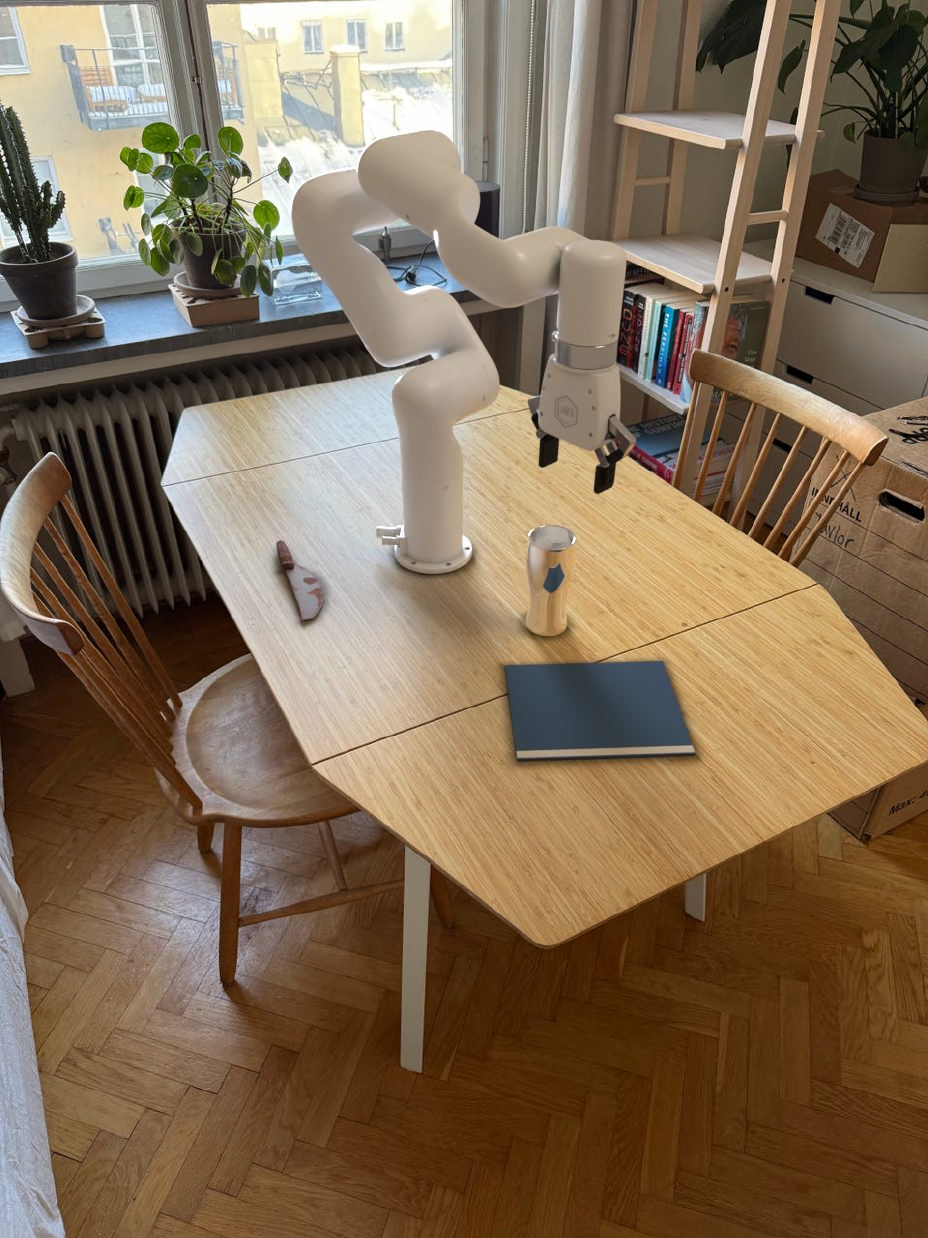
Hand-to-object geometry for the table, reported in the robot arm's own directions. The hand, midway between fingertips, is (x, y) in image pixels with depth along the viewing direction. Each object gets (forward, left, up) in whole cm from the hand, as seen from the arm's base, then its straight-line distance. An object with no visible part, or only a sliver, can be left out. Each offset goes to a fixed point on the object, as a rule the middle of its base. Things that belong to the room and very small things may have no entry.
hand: (574, 476), depth 122 cm
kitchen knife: (-40, +7, -24) cm, 47 cm away
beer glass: (-2, -2, -24) cm, 24 cm away
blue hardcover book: (+4, -20, -23) cm, 31 cm away
